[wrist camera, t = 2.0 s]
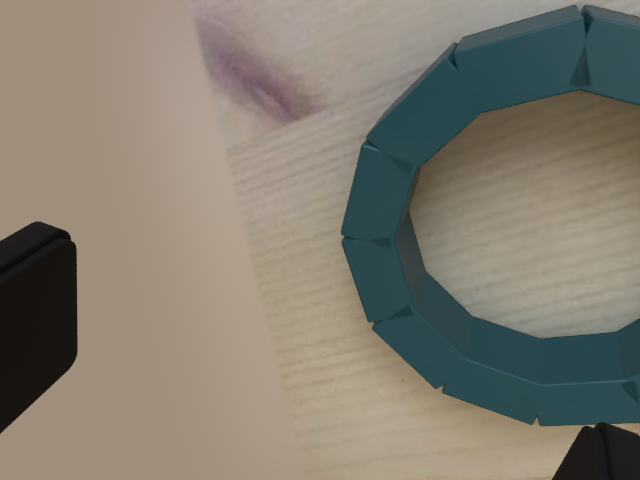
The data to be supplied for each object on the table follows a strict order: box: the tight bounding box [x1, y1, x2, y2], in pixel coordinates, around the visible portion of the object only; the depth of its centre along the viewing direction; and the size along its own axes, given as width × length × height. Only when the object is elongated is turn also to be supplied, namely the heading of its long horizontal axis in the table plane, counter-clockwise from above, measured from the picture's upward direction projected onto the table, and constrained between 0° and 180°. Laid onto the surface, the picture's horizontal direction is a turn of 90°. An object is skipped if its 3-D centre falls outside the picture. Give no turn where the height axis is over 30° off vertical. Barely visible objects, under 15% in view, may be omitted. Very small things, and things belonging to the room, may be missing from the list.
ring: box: [341, 5, 640, 426], centre depth 17 cm, size 12×12×2 cm
